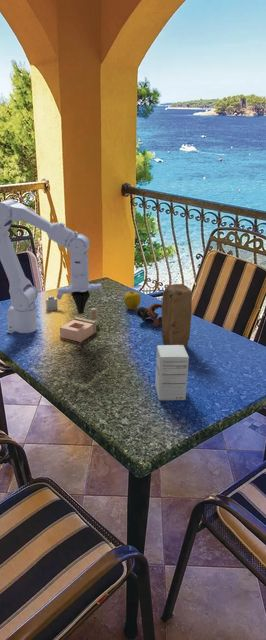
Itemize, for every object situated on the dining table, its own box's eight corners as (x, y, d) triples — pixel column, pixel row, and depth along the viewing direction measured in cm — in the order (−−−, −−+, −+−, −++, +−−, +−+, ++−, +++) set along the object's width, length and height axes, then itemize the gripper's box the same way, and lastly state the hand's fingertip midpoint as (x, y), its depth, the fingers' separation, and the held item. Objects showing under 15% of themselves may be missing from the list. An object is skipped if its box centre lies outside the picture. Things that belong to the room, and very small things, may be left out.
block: (190, 350, 147) (195, 290, 140) (168, 352, 145) (172, 292, 138) (178, 336, 157) (182, 280, 150) (157, 338, 155) (160, 282, 148)
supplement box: (154, 386, 125) (156, 344, 120) (181, 386, 125) (184, 344, 121) (157, 401, 118) (160, 356, 113) (186, 400, 118) (189, 356, 114)
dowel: (89, 328, 162) (89, 309, 160) (93, 325, 164) (92, 307, 162) (95, 329, 161) (95, 310, 159) (98, 327, 163) (98, 308, 161)
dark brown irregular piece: (163, 318, 174) (171, 304, 169) (163, 337, 168) (170, 323, 162) (133, 310, 173) (140, 296, 167) (131, 329, 166) (138, 315, 160)
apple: (121, 307, 183) (121, 288, 180) (135, 305, 185) (136, 286, 183) (128, 312, 177) (128, 293, 175) (142, 310, 180) (143, 291, 177)
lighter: (47, 310, 177) (46, 290, 175) (46, 309, 179) (45, 289, 176) (65, 308, 180) (64, 289, 177) (63, 307, 182) (63, 287, 179)
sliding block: (60, 337, 151) (59, 327, 150) (73, 329, 158) (73, 319, 157) (80, 342, 148) (80, 332, 147) (93, 333, 155) (93, 324, 153)
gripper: (60, 278, 141) (62, 319, 146) (105, 274, 146) (105, 314, 151) (55, 272, 147) (56, 312, 152) (97, 269, 152) (98, 307, 157)
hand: (80, 312), depth 152 cm, fingers closed
